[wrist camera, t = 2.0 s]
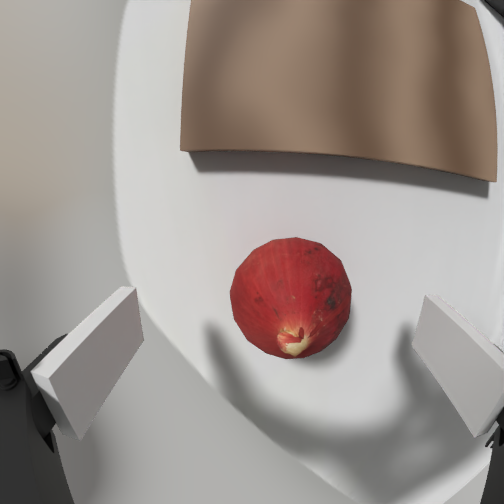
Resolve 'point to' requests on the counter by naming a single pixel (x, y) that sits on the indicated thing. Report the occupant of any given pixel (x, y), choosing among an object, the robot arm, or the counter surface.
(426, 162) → the walnut board
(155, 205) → the counter surface
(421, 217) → the counter surface
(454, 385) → the robot arm
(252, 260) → the onion
